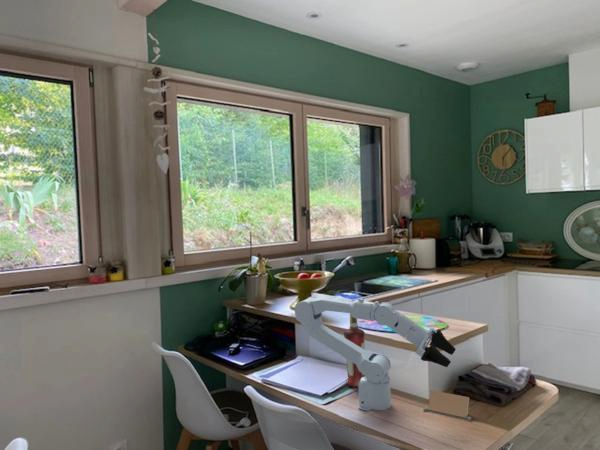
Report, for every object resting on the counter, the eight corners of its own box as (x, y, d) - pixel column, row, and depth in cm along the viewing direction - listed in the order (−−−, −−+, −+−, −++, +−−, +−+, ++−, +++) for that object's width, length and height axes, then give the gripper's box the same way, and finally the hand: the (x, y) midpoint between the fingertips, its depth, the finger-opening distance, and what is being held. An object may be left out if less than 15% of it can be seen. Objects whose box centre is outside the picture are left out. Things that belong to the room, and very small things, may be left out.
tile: (428, 412, 133) (427, 411, 132) (431, 390, 136) (430, 390, 135) (466, 420, 126) (466, 420, 126) (469, 397, 129) (468, 397, 129)
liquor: (344, 382, 161) (340, 305, 161) (364, 380, 162) (360, 304, 161) (348, 390, 154) (344, 309, 154) (369, 388, 155) (365, 308, 154)
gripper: (410, 331, 126) (453, 360, 122) (422, 311, 139) (462, 337, 134) (398, 349, 129) (440, 378, 125) (412, 328, 142) (451, 353, 137)
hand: (451, 358), depth 130 cm, fingers open, 7 cm apart
